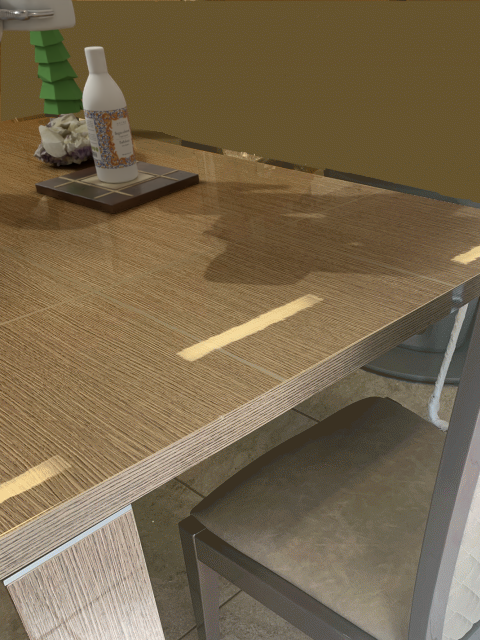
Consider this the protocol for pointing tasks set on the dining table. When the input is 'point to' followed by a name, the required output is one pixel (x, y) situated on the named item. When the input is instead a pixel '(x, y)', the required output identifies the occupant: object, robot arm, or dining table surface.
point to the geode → (64, 141)
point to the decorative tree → (56, 74)
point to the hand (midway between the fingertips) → (31, 7)
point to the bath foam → (107, 122)
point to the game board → (117, 187)
